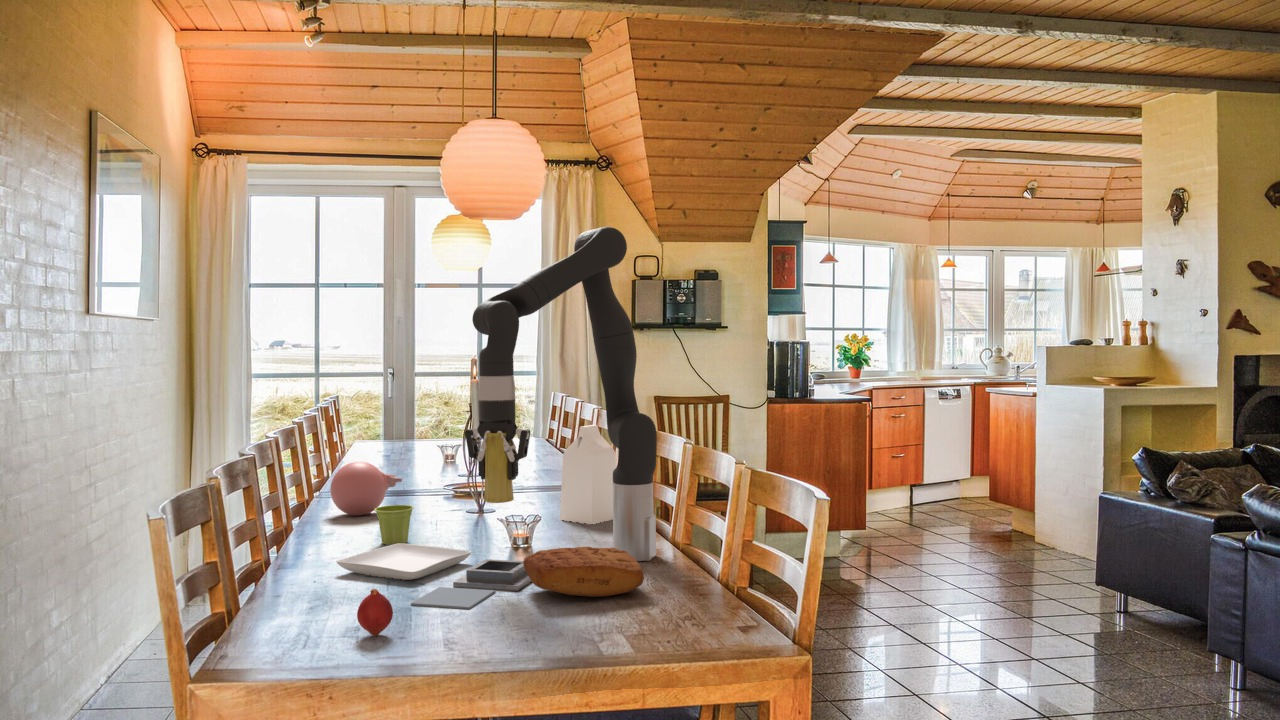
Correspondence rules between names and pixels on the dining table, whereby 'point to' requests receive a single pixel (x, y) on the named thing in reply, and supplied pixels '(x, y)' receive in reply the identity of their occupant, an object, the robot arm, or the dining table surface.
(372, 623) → the onion
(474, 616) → the dining table surface
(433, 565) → the salad plate
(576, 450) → the milk
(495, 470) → the vase
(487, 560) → the grey square socket base
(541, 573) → the cuneiform tablet
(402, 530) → the plant pot
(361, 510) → the pink balloon
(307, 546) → the dining table surface
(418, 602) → the pad
